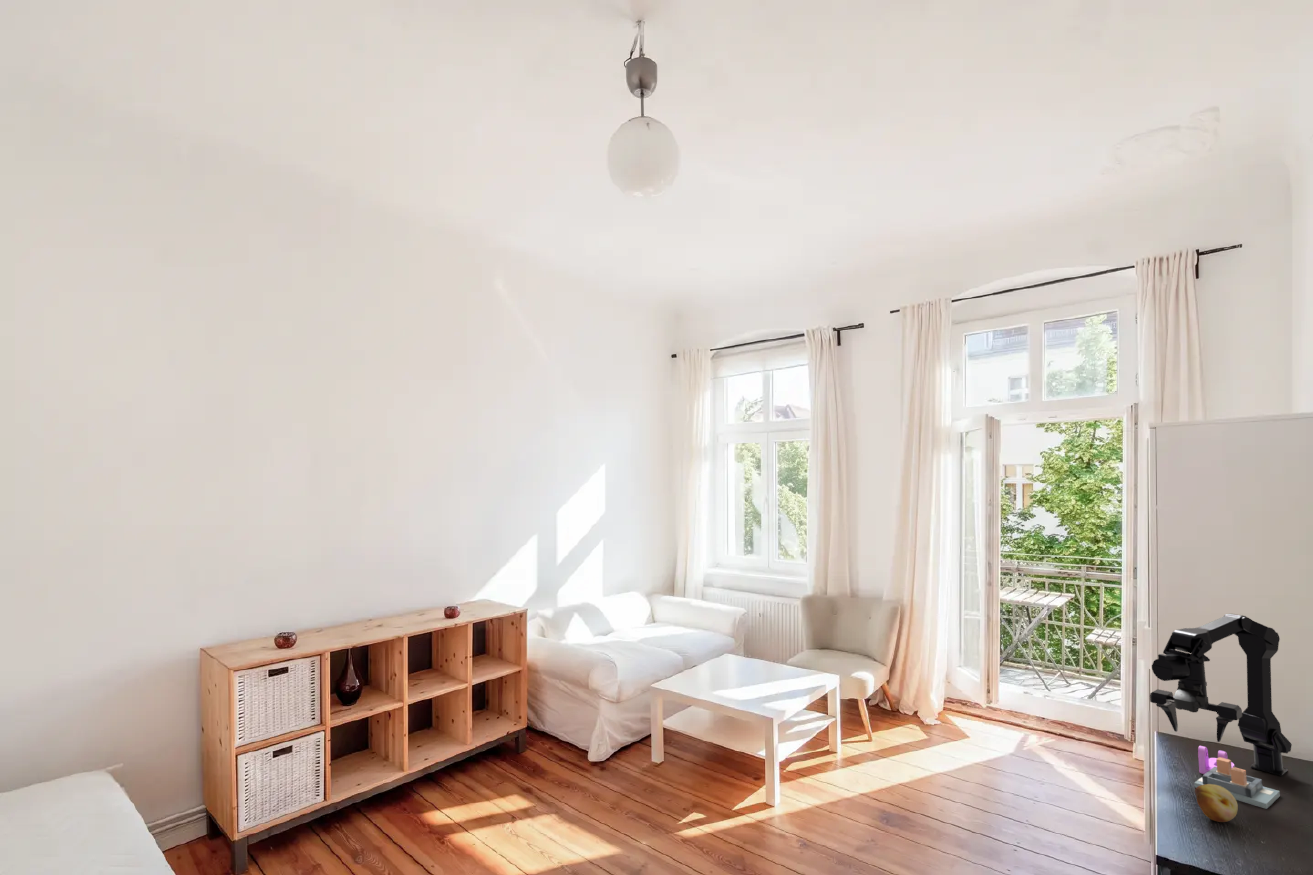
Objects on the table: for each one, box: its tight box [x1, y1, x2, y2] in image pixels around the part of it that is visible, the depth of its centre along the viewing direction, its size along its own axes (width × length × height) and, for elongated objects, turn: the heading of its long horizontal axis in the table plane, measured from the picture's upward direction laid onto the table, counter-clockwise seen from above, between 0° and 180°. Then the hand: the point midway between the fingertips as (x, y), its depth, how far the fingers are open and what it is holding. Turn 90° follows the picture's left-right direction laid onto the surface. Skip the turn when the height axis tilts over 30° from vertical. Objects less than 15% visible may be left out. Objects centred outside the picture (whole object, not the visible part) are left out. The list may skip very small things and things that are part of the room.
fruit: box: [1194, 784, 1239, 823], centre depth 149 cm, size 8×8×8 cm
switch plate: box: [1194, 767, 1281, 810], centre depth 164 cm, size 12×14×3 cm
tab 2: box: [1230, 766, 1249, 787], centre depth 161 cm, size 3×3×5 cm
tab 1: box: [1216, 757, 1232, 776], centre depth 168 cm, size 3×3×5 cm
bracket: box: [1197, 745, 1236, 775], centre depth 177 cm, size 13×6×7 cm, turn 128°
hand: (1197, 736), depth 172 cm, fingers open, 9 cm apart
